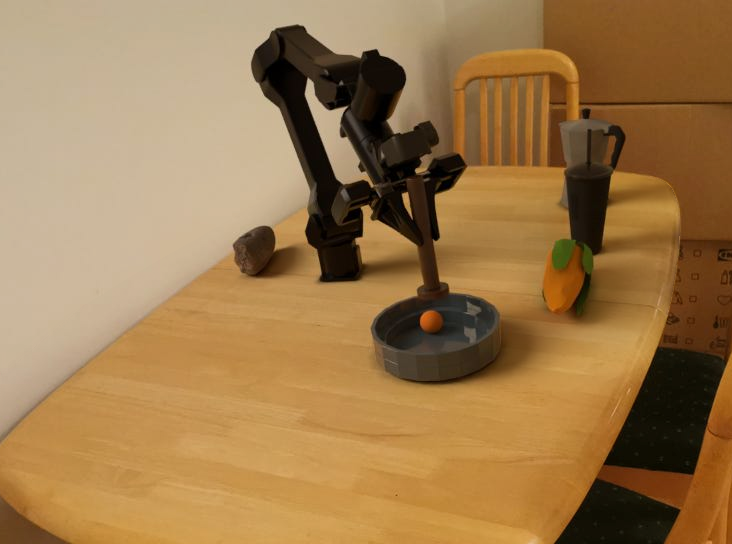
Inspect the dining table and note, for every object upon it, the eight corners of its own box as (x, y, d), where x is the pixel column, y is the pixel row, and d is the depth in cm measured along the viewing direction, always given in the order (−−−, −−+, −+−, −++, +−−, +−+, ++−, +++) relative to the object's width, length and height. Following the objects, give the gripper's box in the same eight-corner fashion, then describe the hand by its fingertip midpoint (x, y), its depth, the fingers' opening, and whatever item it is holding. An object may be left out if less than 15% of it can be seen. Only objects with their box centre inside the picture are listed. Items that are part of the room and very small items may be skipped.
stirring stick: (412, 294, 95) (391, 178, 88) (441, 285, 96) (422, 170, 89) (425, 303, 91) (405, 183, 84) (455, 294, 92) (437, 174, 85)
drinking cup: (611, 258, 113) (616, 133, 103) (563, 259, 115) (563, 137, 104) (609, 240, 119) (613, 121, 109) (563, 242, 121) (564, 125, 111)
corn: (594, 224, 106) (587, 281, 89) (597, 270, 109) (590, 332, 93) (545, 228, 108) (530, 284, 92) (549, 273, 112) (535, 333, 96)
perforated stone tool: (263, 249, 136) (255, 215, 132) (288, 248, 135) (281, 214, 131) (231, 281, 124) (222, 245, 120) (258, 281, 122) (249, 244, 119)
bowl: (364, 385, 89) (359, 356, 87) (387, 321, 103) (383, 294, 101) (499, 383, 86) (497, 352, 83) (503, 318, 100) (501, 290, 98)
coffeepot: (542, 203, 139) (541, 110, 130) (574, 190, 143) (575, 100, 134) (605, 218, 128) (608, 118, 119) (637, 204, 132) (642, 106, 123)
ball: (436, 302, 97) (435, 316, 99) (416, 310, 96) (415, 324, 99) (447, 319, 95) (445, 332, 98) (427, 326, 94) (426, 340, 97)
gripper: (326, 121, 81) (387, 233, 78) (453, 88, 88) (512, 189, 86) (308, 174, 91) (362, 275, 88) (424, 141, 98) (477, 233, 96)
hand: (429, 242), depth 89 cm, fingers closed on stirring stick, 2 cm apart
